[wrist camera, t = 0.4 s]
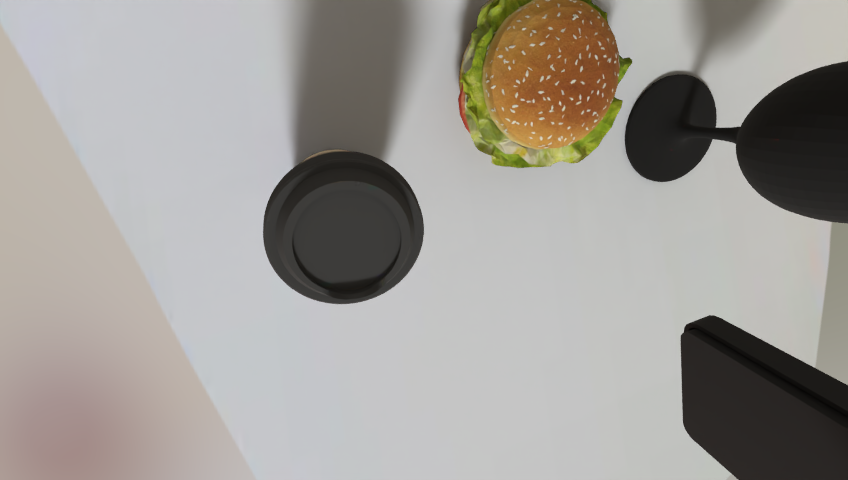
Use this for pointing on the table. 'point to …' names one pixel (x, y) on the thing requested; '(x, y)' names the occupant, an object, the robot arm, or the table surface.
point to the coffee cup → (342, 227)
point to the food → (540, 81)
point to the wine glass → (754, 138)
